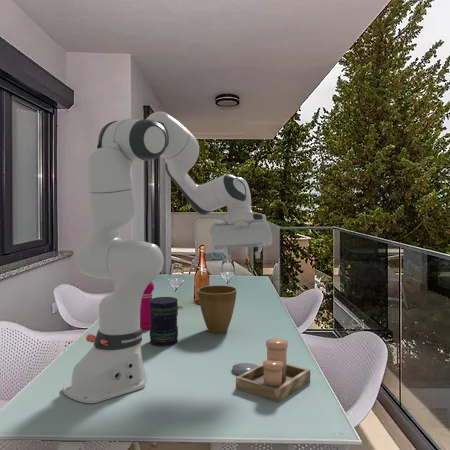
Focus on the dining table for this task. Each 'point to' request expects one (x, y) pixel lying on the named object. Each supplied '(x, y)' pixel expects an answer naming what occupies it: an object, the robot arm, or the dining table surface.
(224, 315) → the plant pot
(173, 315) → the storage jar
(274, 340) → the tall pot
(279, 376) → the small pot
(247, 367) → the grey disc
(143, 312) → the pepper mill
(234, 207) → the robot arm
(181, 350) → the dining table surface
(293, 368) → the wooden tray
